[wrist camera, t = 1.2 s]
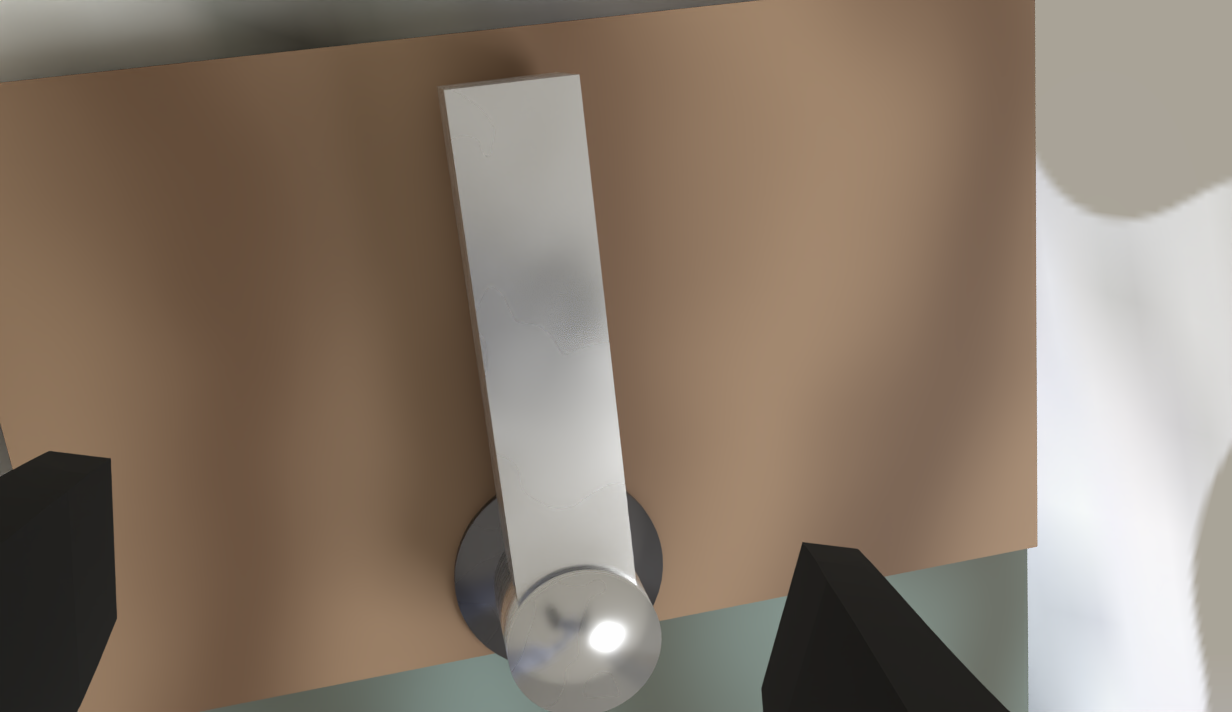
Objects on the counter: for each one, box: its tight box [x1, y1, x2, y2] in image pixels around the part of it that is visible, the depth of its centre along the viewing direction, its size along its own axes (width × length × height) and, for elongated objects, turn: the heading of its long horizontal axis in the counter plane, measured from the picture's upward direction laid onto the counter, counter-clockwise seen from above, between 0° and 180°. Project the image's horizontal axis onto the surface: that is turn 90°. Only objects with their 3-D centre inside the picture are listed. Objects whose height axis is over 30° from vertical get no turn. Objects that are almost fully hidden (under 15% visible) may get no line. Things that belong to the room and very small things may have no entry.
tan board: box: [0, 0, 1037, 712], centre depth 23 cm, size 19×22×1 cm
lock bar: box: [437, 72, 662, 712], centre depth 19 cm, size 10×3×2 cm, turn 6°
